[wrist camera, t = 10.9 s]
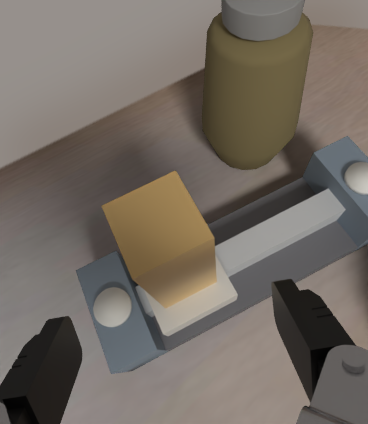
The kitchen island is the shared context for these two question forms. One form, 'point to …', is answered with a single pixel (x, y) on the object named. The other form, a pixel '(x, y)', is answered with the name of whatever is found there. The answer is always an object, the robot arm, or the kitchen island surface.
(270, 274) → the rail bed
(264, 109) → the squeeze bottle
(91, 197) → the kitchen island surface
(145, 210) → the carriage
